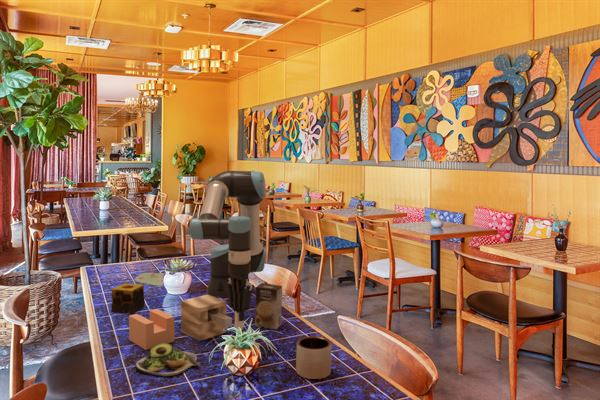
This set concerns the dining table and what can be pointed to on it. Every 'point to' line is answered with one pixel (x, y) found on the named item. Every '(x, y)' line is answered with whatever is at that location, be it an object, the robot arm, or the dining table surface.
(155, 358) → the salad plate
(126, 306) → the dark brown holed cube
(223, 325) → the tan wooden bar
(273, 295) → the coffee box
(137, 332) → the cradle
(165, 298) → the dining table surface
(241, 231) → the robot arm
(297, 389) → the dining table surface
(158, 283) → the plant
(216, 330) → the brown notched block
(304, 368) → the planter
